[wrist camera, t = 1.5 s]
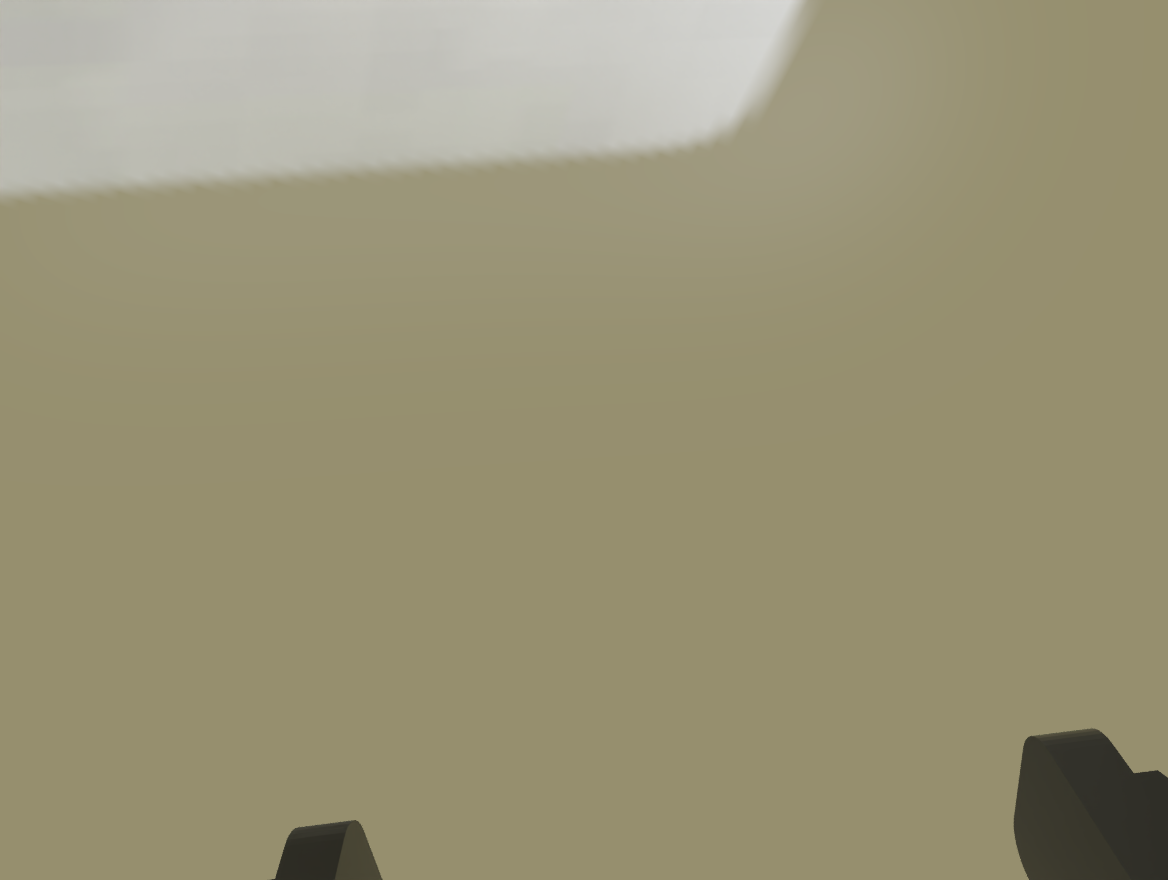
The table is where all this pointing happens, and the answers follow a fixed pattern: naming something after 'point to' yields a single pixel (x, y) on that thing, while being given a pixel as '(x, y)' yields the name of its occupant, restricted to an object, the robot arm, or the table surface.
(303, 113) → the table surface
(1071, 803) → the robot arm
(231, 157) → the table surface
